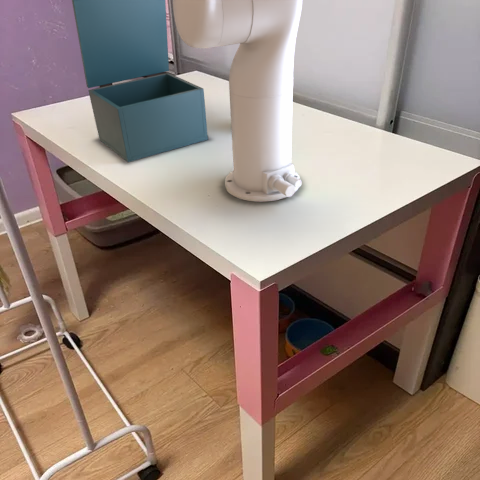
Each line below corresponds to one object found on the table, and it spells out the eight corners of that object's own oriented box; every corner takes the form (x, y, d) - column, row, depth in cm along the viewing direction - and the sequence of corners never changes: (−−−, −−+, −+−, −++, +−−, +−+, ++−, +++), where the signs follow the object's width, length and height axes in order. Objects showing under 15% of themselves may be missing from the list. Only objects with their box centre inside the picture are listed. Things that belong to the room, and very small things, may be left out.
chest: (208, 139, 103) (203, 88, 97) (127, 162, 96) (117, 109, 90) (174, 120, 112) (168, 72, 106) (99, 139, 106) (88, 89, 99)
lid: (164, -15, 94) (151, -23, 97) (72, -2, 87) (61, -11, 90) (169, 71, 106) (157, 61, 108) (88, 88, 99) (78, 77, 101)
